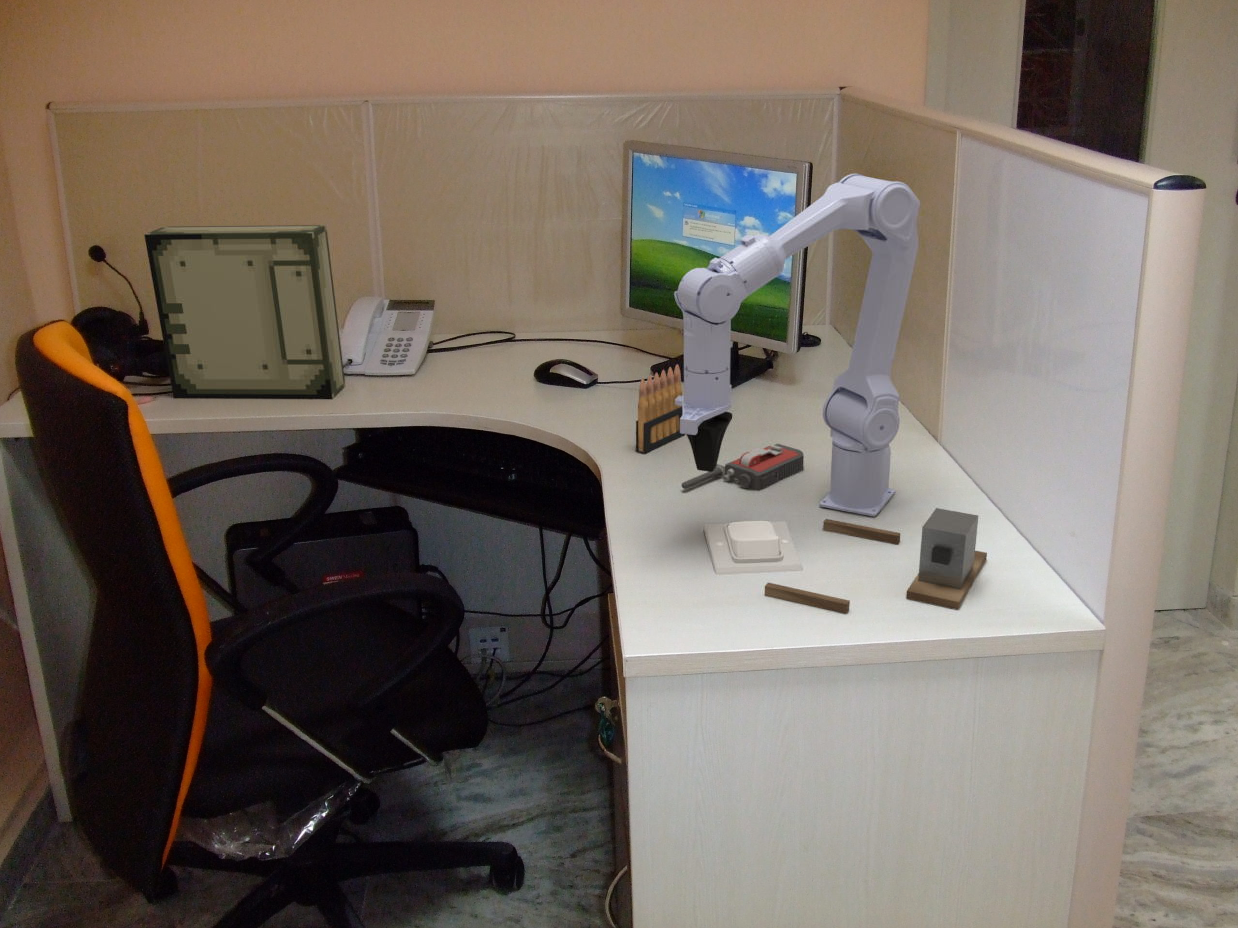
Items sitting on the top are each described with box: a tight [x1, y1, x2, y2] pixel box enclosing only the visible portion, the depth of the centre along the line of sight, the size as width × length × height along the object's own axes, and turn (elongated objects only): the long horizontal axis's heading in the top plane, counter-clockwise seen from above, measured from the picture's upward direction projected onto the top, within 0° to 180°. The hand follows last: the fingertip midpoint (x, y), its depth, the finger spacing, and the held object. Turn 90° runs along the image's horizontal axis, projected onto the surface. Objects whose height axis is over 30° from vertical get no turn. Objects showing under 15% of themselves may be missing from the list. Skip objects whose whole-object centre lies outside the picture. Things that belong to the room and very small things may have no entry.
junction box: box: [918, 507, 979, 590], centre depth 136 cm, size 7×5×7 cm
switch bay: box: [764, 518, 901, 614], centre depth 142 cm, size 21×10×1 cm, turn 151°
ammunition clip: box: [635, 363, 686, 455], centre depth 181 cm, size 11×2×12 cm, turn 140°
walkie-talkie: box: [681, 443, 804, 491], centre depth 168 cm, size 9×4×20 cm
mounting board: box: [905, 550, 988, 611], centre depth 138 cm, size 14×6×1 cm, turn 151°
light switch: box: [703, 520, 804, 575], centre depth 147 cm, size 11×4×13 cm
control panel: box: [144, 224, 346, 400], centre depth 208 cm, size 30×8×30 cm, turn 84°
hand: (706, 469), depth 147 cm, fingers closed
